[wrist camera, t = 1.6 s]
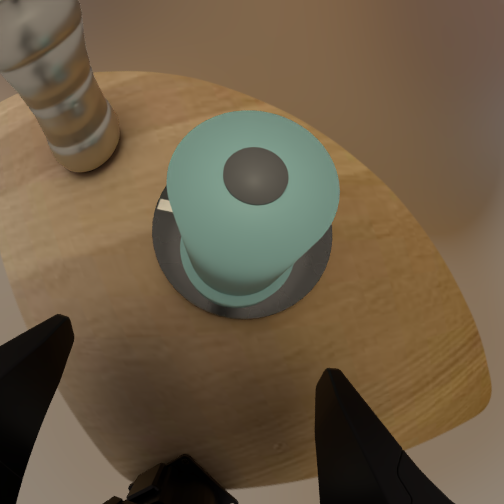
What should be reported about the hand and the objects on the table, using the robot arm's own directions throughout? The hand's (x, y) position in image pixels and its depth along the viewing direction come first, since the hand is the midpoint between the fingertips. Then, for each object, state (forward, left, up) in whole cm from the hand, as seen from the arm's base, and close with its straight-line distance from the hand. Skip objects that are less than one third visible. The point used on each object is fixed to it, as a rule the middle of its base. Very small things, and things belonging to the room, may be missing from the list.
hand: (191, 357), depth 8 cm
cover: (+3, -5, -11) cm, 13 cm away
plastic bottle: (+20, -1, -14) cm, 24 cm away
